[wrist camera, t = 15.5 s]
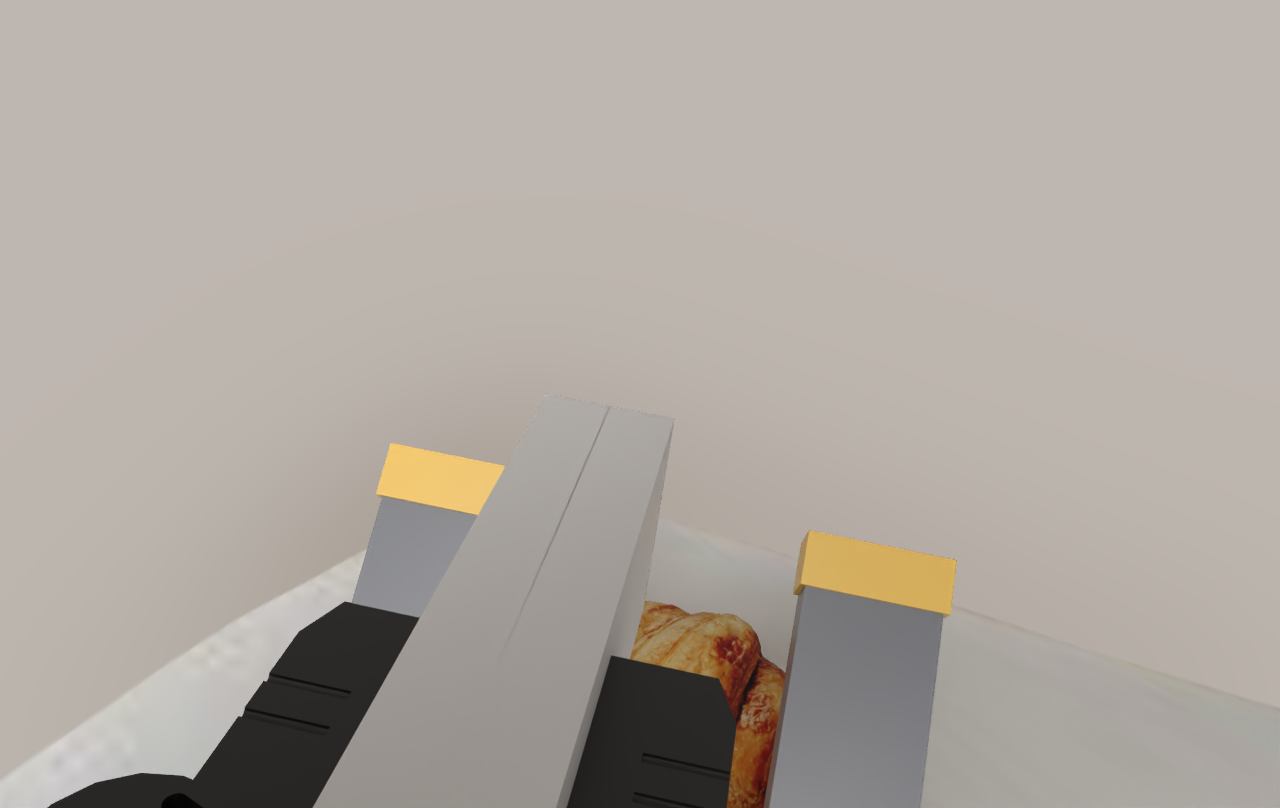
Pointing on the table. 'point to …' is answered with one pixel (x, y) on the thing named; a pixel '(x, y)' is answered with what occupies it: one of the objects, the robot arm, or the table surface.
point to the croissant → (722, 683)
